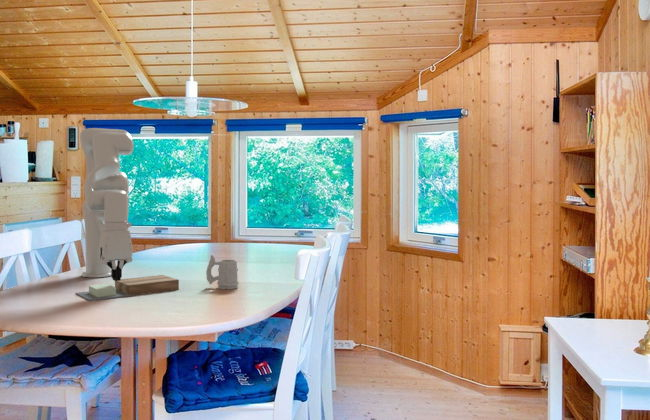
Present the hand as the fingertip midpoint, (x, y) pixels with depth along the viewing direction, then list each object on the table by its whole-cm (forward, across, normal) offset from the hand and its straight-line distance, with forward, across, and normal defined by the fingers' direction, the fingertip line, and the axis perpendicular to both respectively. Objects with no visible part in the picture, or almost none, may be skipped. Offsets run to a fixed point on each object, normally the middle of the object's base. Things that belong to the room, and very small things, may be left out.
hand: (116, 280), depth 193 cm
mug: (+5, -34, +13) cm, 37 cm away
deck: (+5, -11, 0) cm, 12 cm away
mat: (+5, +4, 0) cm, 6 cm away
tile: (+3, +5, 0) cm, 6 cm away
